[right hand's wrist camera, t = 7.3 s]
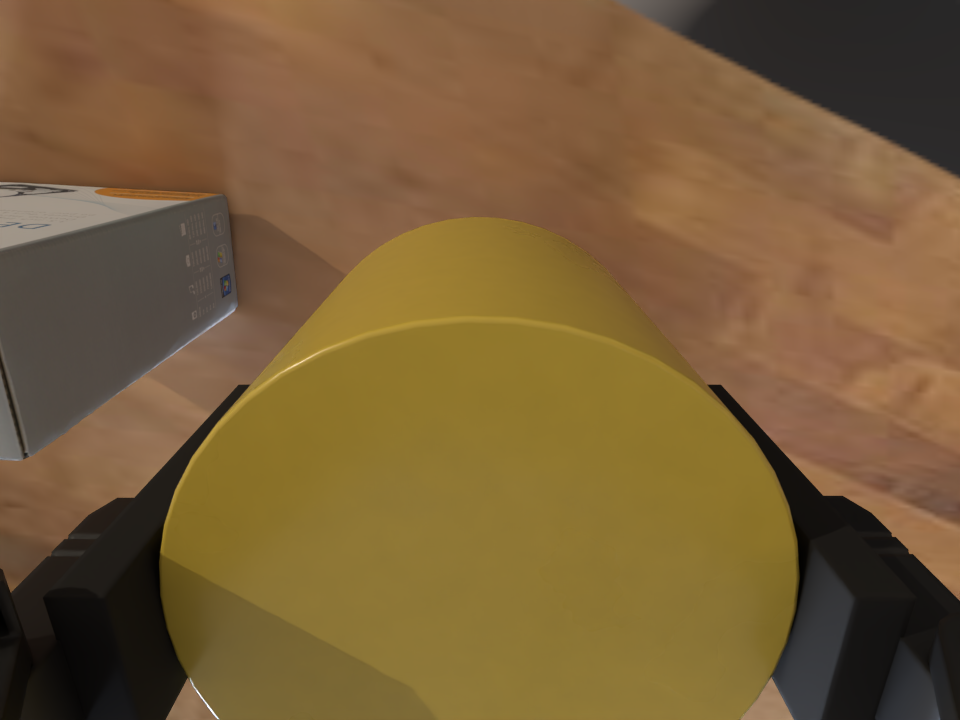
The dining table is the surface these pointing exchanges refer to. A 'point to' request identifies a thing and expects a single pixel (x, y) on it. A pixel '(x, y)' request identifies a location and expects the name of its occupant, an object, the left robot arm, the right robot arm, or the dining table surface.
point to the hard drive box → (99, 296)
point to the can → (479, 507)
